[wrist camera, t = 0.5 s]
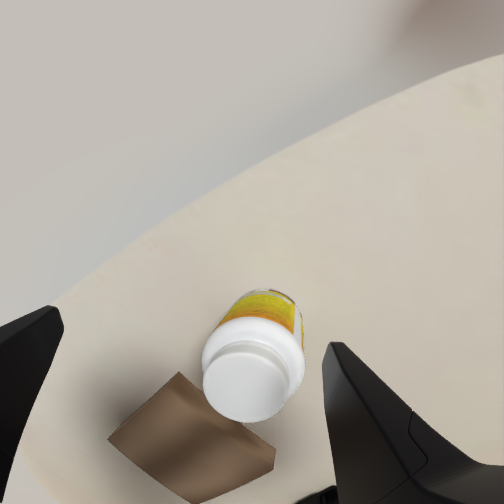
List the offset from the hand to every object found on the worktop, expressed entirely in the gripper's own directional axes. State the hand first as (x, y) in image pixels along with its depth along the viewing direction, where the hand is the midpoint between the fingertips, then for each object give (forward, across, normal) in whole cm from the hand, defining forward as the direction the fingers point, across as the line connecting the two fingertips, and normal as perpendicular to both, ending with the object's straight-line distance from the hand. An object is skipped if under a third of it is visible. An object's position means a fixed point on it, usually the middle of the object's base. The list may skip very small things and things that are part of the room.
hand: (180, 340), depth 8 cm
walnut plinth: (+8, +2, +22) cm, 23 cm away
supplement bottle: (+12, -4, +8) cm, 15 cm away
